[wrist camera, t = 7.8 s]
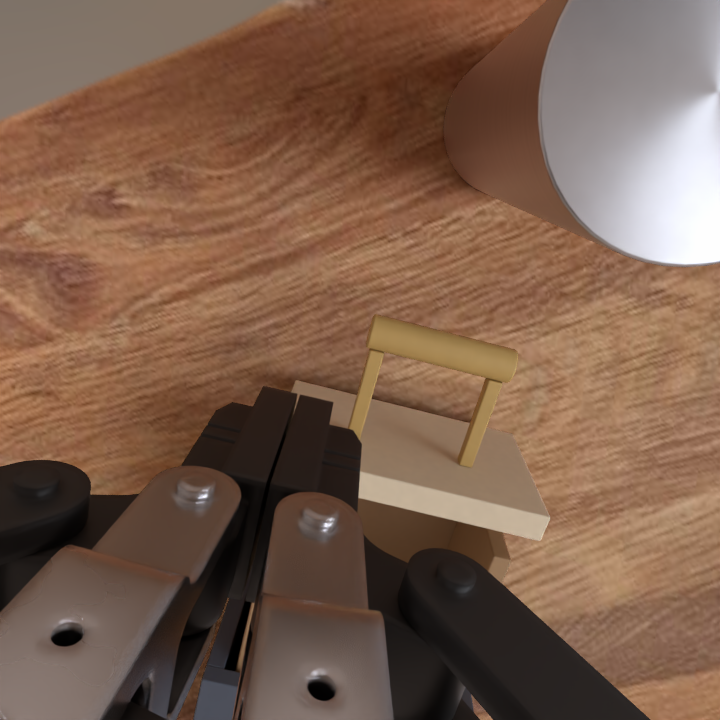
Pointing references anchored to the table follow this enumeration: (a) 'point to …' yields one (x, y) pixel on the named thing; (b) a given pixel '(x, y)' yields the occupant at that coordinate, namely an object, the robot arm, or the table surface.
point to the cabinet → (232, 665)
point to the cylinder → (602, 125)
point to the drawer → (436, 456)
